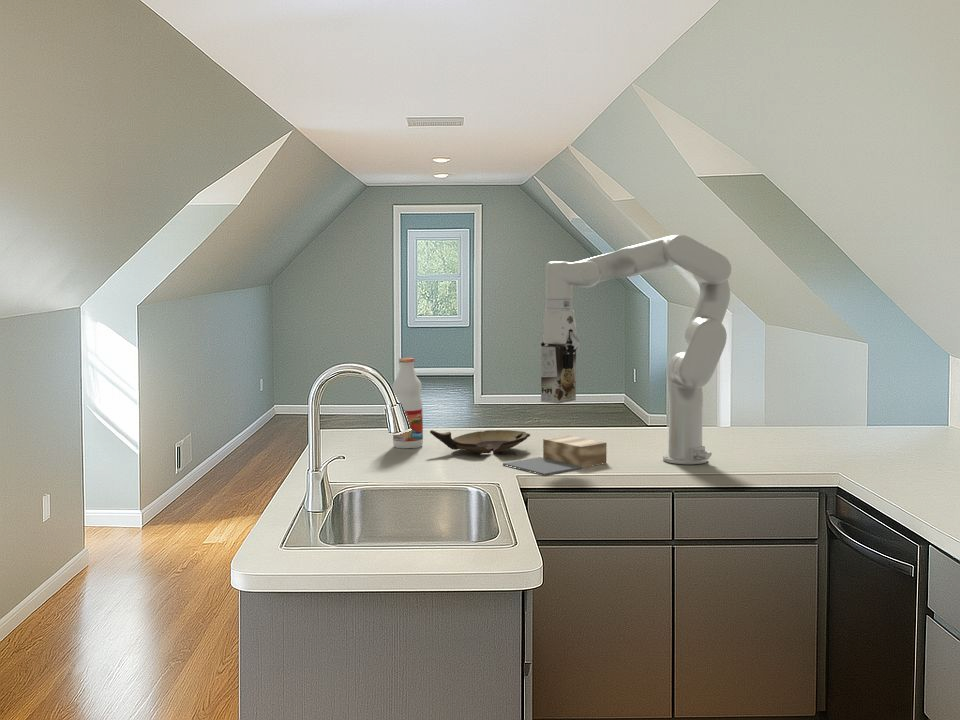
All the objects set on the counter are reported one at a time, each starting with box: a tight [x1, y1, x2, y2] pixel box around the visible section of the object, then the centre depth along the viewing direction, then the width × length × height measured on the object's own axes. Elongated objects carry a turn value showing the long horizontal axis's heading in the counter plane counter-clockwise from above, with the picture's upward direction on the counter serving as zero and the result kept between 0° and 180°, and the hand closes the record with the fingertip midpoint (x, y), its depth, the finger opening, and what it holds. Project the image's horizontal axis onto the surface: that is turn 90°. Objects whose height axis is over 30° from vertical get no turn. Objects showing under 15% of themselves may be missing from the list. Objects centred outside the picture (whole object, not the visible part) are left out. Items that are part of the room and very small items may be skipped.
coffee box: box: [540, 345, 577, 405], centre depth 281 cm, size 9×6×16 cm
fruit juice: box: [392, 357, 424, 449], centre depth 311 cm, size 9×9×28 cm
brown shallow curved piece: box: [429, 429, 531, 454], centre depth 303 cm, size 22×30×8 cm
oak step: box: [542, 435, 608, 469], centre depth 286 cm, size 16×10×6 cm, turn 38°
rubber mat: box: [502, 456, 583, 477], centre depth 279 cm, size 18×14×1 cm
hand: (558, 366), depth 281 cm, fingers closed on coffee box, 7 cm apart
